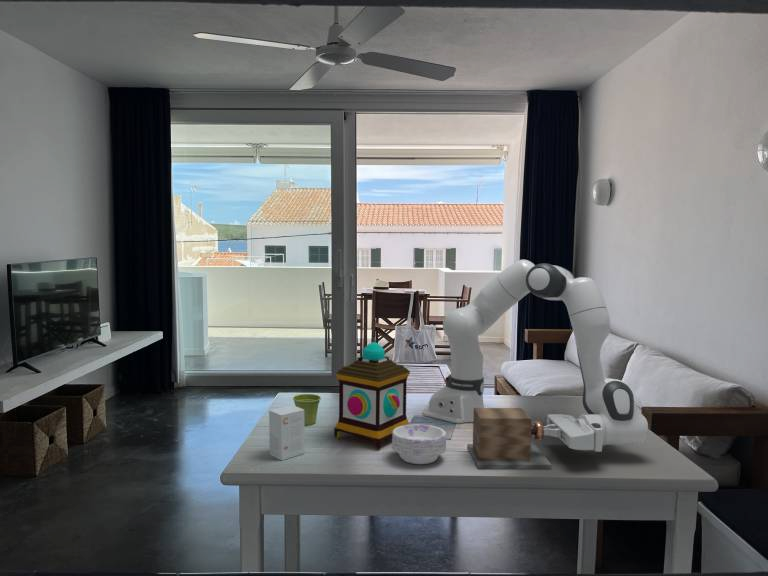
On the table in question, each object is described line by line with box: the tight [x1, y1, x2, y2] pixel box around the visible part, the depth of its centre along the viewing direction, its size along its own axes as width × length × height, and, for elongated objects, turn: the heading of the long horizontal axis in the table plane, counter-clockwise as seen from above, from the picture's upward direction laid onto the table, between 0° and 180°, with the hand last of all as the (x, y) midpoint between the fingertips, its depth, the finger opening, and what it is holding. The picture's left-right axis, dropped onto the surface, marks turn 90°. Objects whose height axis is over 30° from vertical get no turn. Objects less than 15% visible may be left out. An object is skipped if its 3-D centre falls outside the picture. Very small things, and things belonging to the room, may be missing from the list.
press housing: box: [466, 407, 553, 470], centre depth 158 cm, size 20×16×13 cm
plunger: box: [531, 420, 544, 441], centre depth 158 cm, size 17×6×5 cm, turn 92°
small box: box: [268, 405, 306, 461], centre depth 159 cm, size 8×6×13 cm
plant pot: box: [292, 393, 322, 426], centre depth 188 cm, size 9×9×9 cm
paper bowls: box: [391, 423, 447, 465], centre depth 157 cm, size 15×15×8 cm
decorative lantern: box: [333, 341, 411, 451], centre depth 174 cm, size 20×20×30 cm
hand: (541, 430), depth 158 cm, fingers closed, pressing on plunger
